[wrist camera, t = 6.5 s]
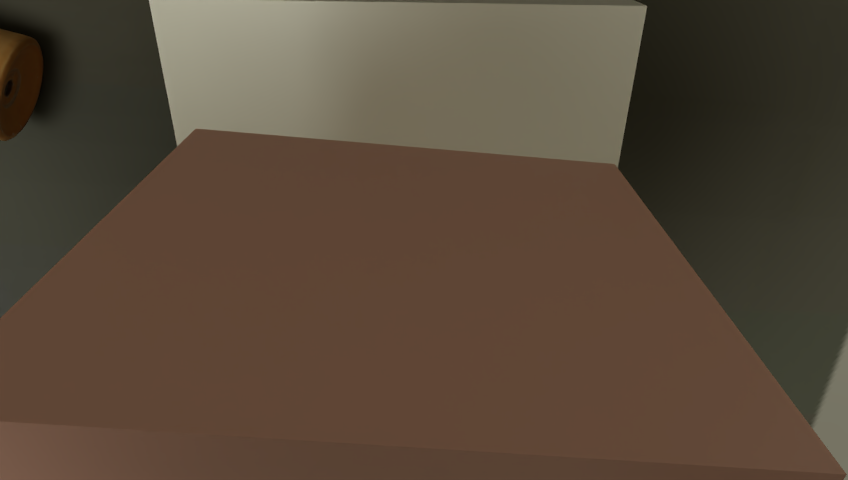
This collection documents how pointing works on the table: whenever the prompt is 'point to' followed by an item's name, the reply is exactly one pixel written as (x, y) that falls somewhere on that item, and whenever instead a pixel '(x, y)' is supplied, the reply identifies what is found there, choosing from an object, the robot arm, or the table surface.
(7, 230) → the table surface
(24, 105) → the kendama
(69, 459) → the coral brick
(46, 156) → the table surface
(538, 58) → the white foam block
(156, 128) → the table surface
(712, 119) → the table surface
